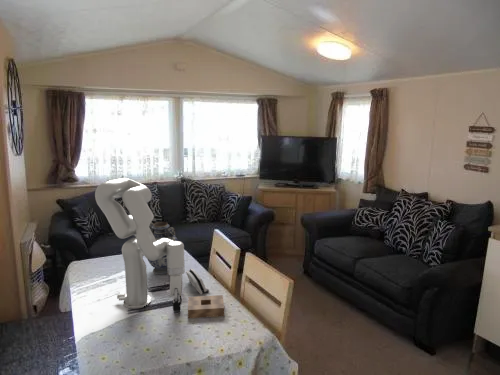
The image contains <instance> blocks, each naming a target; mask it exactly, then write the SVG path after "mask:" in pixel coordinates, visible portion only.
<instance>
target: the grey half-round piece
mask: <svg viewBox="0 0 500 375" xmlns="http://www.w3.org/2000/svg"><path fill="white" fill-rule="evenodd" d="M185 273H186V276H187V278H188V281H189V282H190V283H191V285H192V286H193V287H194V288H195V290H196V291H197V292H198V294H199V295H202V294H203V293H206V292H208V293H210V290H209V288H208V287H207V286H206V285H205V284H204V281H203V279H202V278H201V276H200V275H199V274H198V272H197V271H196V270H195V269H194V268H191V269H190V268H189V270H187V271H185Z"/></svg>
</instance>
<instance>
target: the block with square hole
mask: <svg viewBox="0 0 500 375" xmlns="http://www.w3.org/2000/svg"><path fill="white" fill-rule="evenodd" d="M187 297H188V298H187V300H188V301H187V319H197V318H198V319H200V318H217V317H225V305H224V296H223V294H219V295H204V296H203V295H201V296H200V295H199V296H198V295H197V296H187Z"/></svg>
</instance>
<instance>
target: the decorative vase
mask: <svg viewBox="0 0 500 375" xmlns="http://www.w3.org/2000/svg"><path fill="white" fill-rule="evenodd" d="M149 228H150V230H151V232H152V233H153V235H154V237H155V240H156V241H157V240H159V239H161V238H168V239H170V240H173V241H179V240H178V238H177V237H176V229H175V228H174V227H172V226H171V227H170V224H168V222H166V221H157V222H154V223H153V222H152V221H151V223H150V226H149ZM147 261H148V263H149V264H150V266H151V267H152V268H153V270H152V272H153V274H154V275H159V276H162V275H163V276H164V275H169V274H168V272H167V255H165V256H163V257H161V258H159V259H158V260H155V261H150V260H148V259H147Z"/></svg>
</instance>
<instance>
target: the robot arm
mask: <svg viewBox="0 0 500 375" xmlns="http://www.w3.org/2000/svg"><path fill="white" fill-rule="evenodd" d="M94 197H95V202H96V204H97V206H98V207H99V209H100V210H101V211H102V213H103V215H104V216H105V217H106V219H107V221H108V223H109V225H110V227H111V229H112V231H113V232H114V234H115V235H116V237H117V238H119V239H126V238H129V237H132V238H130V239H128V240H127V241H125V242H124V243H123V245H122V246H121V256H122V257H123V263H124V264H123V265H124V274H125V291H126V292H125V293H124V294H122V293H121V294H117V295H116V298H117V300H118V301H119V302H121V301H123V306H124V307H125V308H127V309H131V310H132V309H134V310H135V309H142V308H144V306H145V307H147V306H148V305H147V304H149V303H150V304H151V302H152V297H151V296H150V295H148V294H149V293H148V278H147V276H148V273H147V265H146V264H147V263H146V261H145V260H144V259H143V258H144V257H145V259H147V261H148V260H150V261H155V260H158V259H159V258H161V257H163V256H165V255H167V272H168V274H167V275H169V297H171V298H172V300H173V302H172V309H173V312H174V311H179V310H180V311H181V308H182V306H181V300H182V291H183V274H185V273H186V269H185V245H184V243H183V242H182V241H179V240H178V241H173V240H170V239H168V238H161V239H159V240H157V241H156V240H155V237H154V235H153V233H152V232H151V229H150V228H149V226H150V223H151V222H152V221H153V220H154V218H155V216H154V214H153V212H152V209H150V207H149V205H148V203H149V202H150V201H151V199H152V197H153V193H152V191H151V190H150V188H149V187H148V186H146V185H144V184H143V183H140V182H138V181H135V180H133V179H130V178H128V177H121V178H117V179H110V180H108V181H104V182H102V183H100V184H99V185H97V187H96V189H95V192H94ZM118 198H121V199H122V201H123V204H124V205H125V207H126V210H127V211H128V212H129V214H127V212H126V210H125V208H124V207H123V206H122V204H120V203H119V202H118V201H116V200H115V199H118ZM177 294H179V295H177ZM150 304H149V305H150ZM146 305H147V306H146Z"/></svg>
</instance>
